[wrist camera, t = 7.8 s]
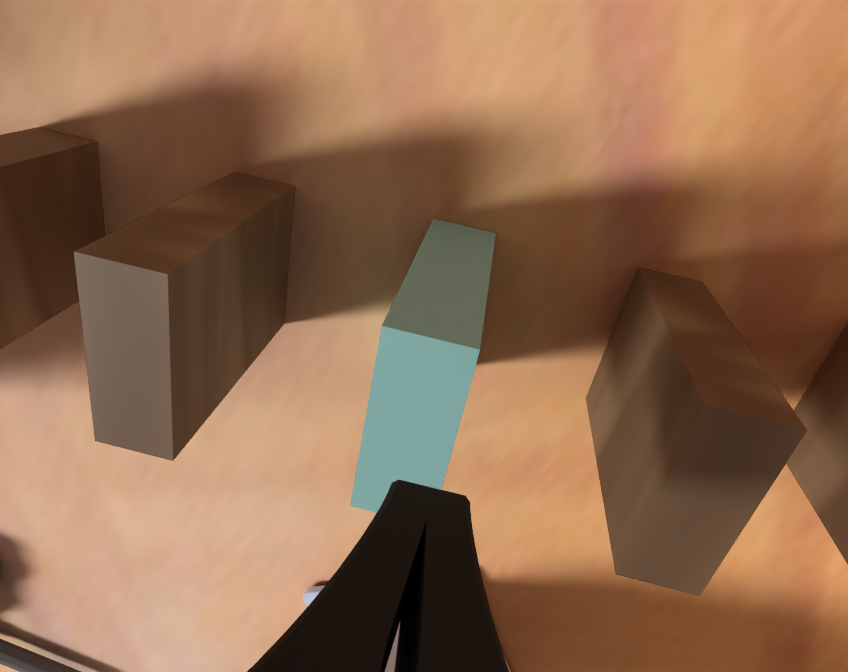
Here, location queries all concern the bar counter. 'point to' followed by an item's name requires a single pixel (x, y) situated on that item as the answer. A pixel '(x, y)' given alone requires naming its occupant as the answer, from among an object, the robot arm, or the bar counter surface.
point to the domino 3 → (425, 363)
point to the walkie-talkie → (28, 660)
